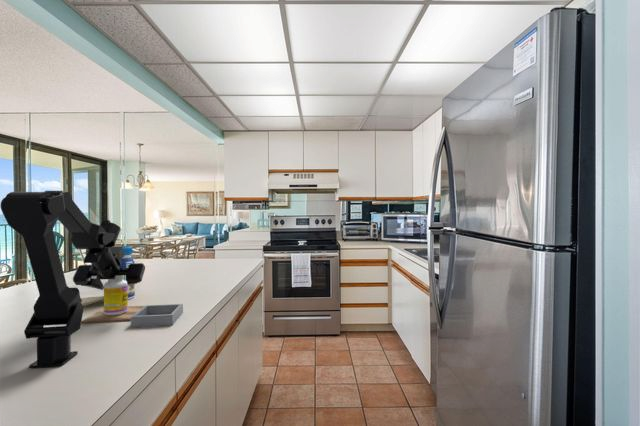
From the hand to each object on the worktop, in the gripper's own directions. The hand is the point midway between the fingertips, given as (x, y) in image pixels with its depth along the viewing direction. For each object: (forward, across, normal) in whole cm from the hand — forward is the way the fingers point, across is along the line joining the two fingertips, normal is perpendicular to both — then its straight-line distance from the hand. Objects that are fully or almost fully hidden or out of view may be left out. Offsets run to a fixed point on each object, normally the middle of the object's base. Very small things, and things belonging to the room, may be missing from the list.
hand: (118, 287), depth 107 cm
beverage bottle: (+20, +6, -8) cm, 23 cm away
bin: (0, -15, +12) cm, 19 cm away
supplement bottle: (+5, 0, +7) cm, 8 cm away
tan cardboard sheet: (+5, 0, +7) cm, 9 cm away
